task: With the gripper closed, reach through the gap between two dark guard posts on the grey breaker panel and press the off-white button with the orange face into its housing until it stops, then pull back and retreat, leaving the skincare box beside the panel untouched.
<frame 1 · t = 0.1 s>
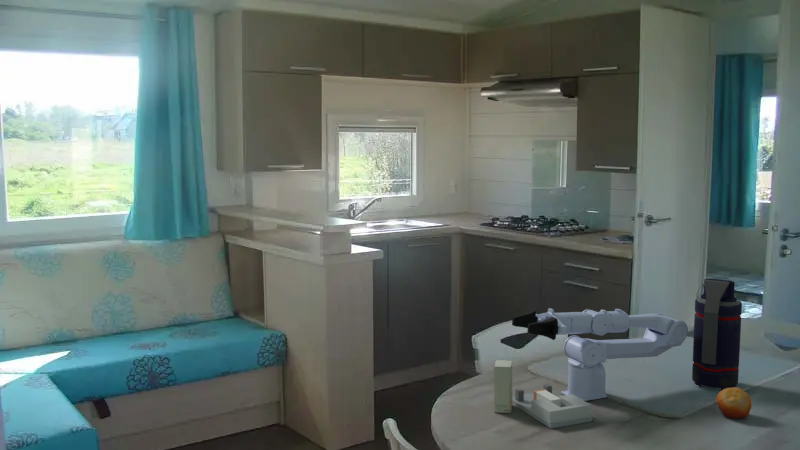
hand: (520, 325, 201), 22 cm above the table, tool horizontal, fingers open, 7 cm apart
skincare box: (503, 409, 202), on the table
grenade: (713, 387, 218), on the table
breaker panel: (547, 409, 201), on the table
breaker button: (547, 400, 201), point 3 cm above the table, slide at 0.0 cm
fruit: (732, 417, 196), on the table
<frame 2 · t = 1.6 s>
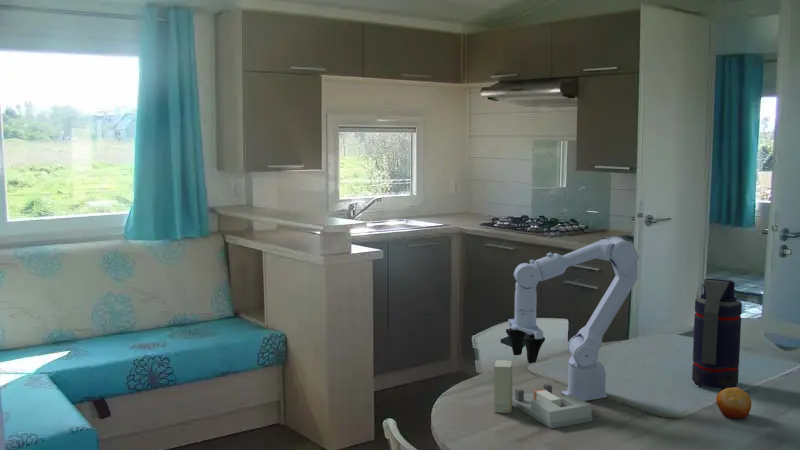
hand: (524, 358, 210), 10 cm above the table, tool pointing down, fingers open, 7 cm apart
nothing on the table moved.
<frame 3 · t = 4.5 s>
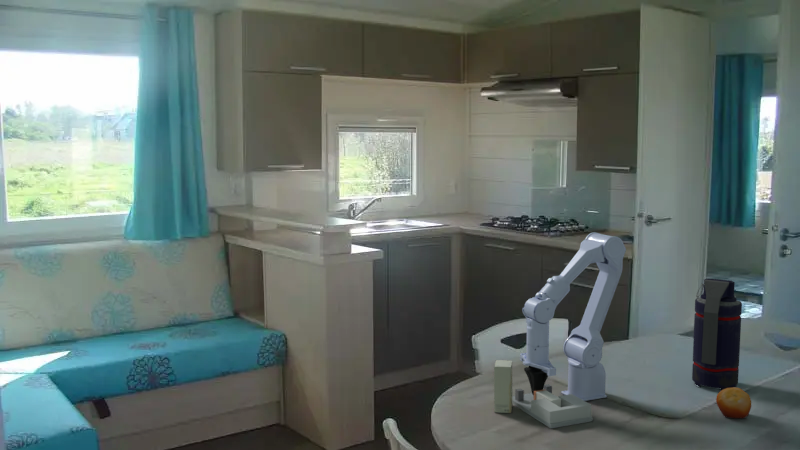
hand: (537, 394, 205), 2 cm above the table, tool pointing down, fingers closed
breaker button: (547, 400, 201), point 3 cm above the table, slide at 0.0 cm, touching gripper
everything else where it was.
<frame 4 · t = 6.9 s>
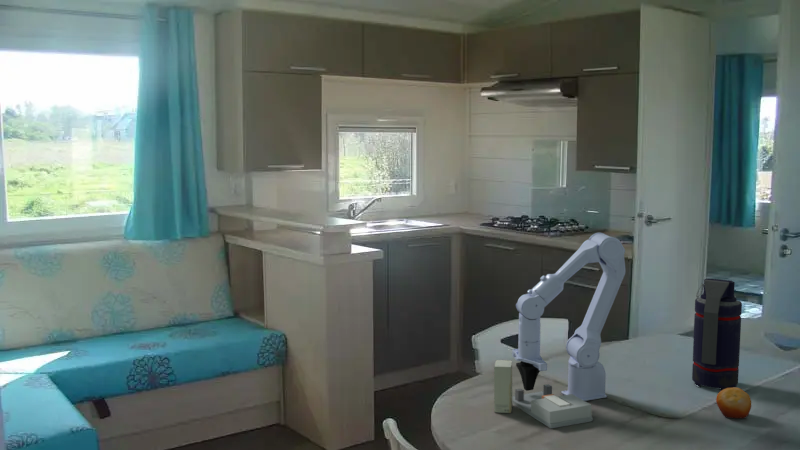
hand: (528, 389, 209), 2 cm above the table, tool pointing down, fingers closed
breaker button: (555, 405, 197), point 3 cm above the table, slide at 3.9 cm
everything else where it was.
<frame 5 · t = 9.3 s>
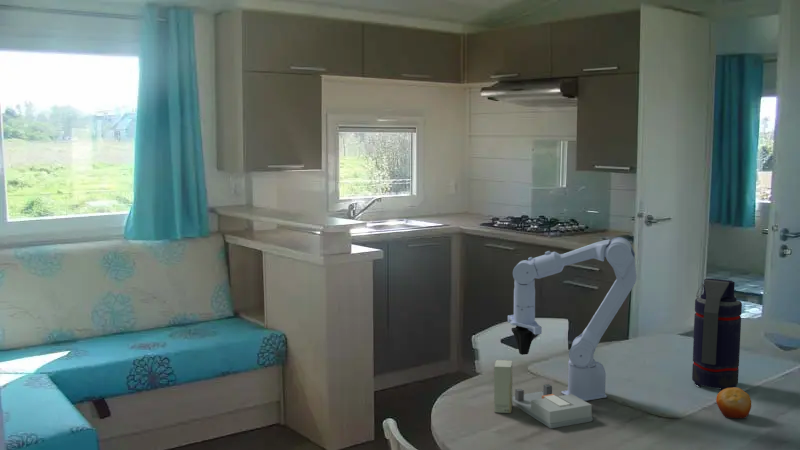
hand: (523, 353, 214), 10 cm above the table, tool pointing down, fingers closed
nothing on the table moved.
at the end: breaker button slide at 3.9 cm; skincare box moved 0.2 cm from its start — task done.
